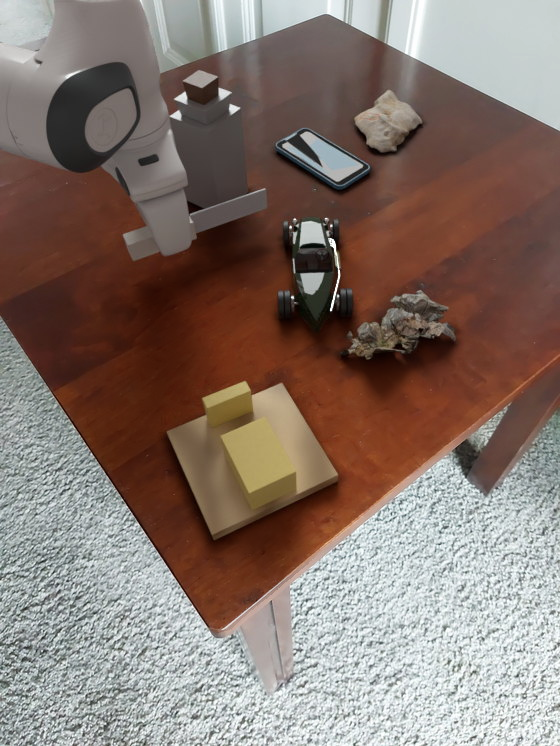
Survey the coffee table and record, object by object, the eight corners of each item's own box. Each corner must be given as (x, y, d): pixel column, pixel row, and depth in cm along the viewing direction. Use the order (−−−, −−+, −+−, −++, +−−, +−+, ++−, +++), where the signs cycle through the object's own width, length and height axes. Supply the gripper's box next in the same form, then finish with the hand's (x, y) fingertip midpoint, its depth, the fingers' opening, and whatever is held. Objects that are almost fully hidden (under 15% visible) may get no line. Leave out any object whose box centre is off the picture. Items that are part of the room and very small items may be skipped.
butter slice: (211, 428, 64) (206, 408, 61) (206, 417, 65) (201, 397, 62) (253, 411, 65) (251, 390, 62) (248, 401, 66) (245, 380, 63)
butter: (251, 510, 59) (248, 493, 55) (224, 454, 62) (219, 435, 59) (297, 489, 60) (296, 471, 57) (267, 435, 64) (265, 415, 60)
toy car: (342, 229, 85) (344, 201, 81) (354, 338, 73) (357, 311, 69) (277, 231, 85) (276, 203, 81) (278, 340, 73) (277, 314, 69)
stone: (385, 100, 104) (387, 84, 102) (436, 123, 99) (439, 107, 97) (335, 133, 99) (336, 117, 96) (386, 159, 94) (388, 142, 92)
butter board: (213, 540, 59) (211, 535, 57) (168, 438, 66) (166, 431, 64) (337, 481, 62) (338, 474, 61) (282, 389, 69) (282, 382, 68)
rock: (323, 332, 74) (323, 311, 71) (426, 292, 77) (431, 270, 74) (357, 381, 69) (359, 361, 66) (465, 336, 73) (472, 315, 69)
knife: (133, 261, 78) (127, 242, 75) (127, 250, 79) (121, 231, 77) (270, 212, 82) (269, 193, 80) (263, 202, 84) (261, 183, 81)
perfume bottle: (214, 176, 93) (197, 60, 78) (248, 191, 90) (237, 74, 76) (185, 199, 90) (162, 83, 75) (220, 216, 87) (203, 98, 73)
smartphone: (339, 188, 89) (272, 144, 95) (339, 193, 90) (272, 150, 96) (373, 166, 92) (305, 126, 98) (372, 172, 92) (305, 131, 99)
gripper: (82, 105, 72) (112, 199, 83) (135, 200, 61) (161, 293, 72) (132, 91, 73) (155, 185, 84) (192, 181, 62) (209, 276, 73)
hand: (158, 236), depth 78 cm, fingers closed on knife, 2 cm apart
